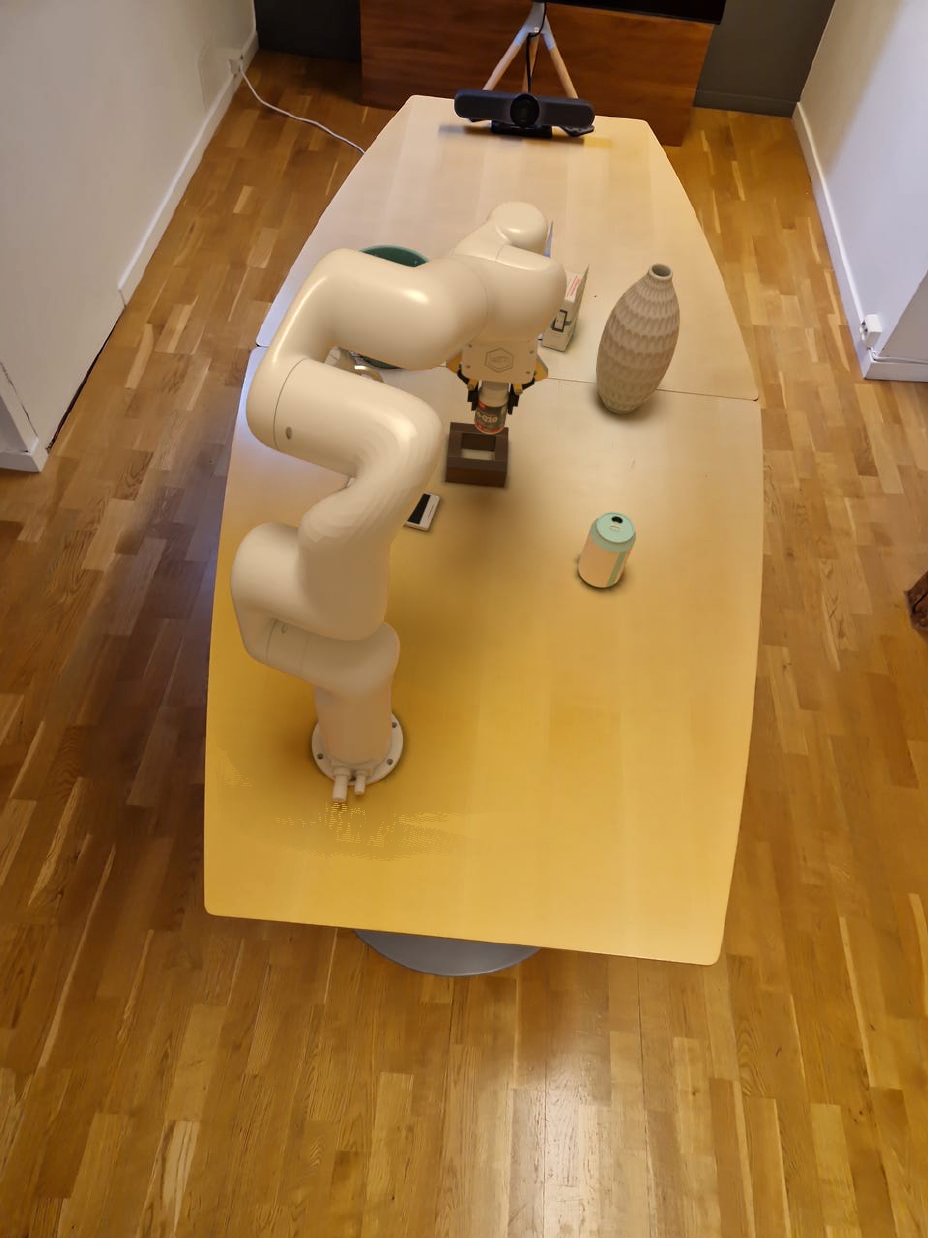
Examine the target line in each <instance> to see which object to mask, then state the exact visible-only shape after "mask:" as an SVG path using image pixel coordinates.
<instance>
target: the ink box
mask: <svg viewBox="0 0 928 1238" xmlns="http://www.w3.org/2000/svg"><path fill="white" fill-rule="evenodd" d="M589 267H590V262H588V263H587V265H586V268H585V270H584V272H583V274H581V273H578V272H574V271H571V270H568V269H565V272H566V276H567V290H566V295H565V299H564V302H563V305H562V307H561V309H560V311H559V313H558V315H557V316H556V318H555V320H554V321H553V322H552V324H551V325H550V326H549V327H548V328H547V329H546V330H545V331H544V332H543V333H542V334H543V335H542V340H541V346H542V347H546V348H549V349H553V350H557V351H560V352H565V351H566V349H567V348H568V344H569V343H570V340H571V339H572V336H573V334H574V332H575V330H576V326H577V323H578V322H577V321H578V318H579V313H580V309H581V305H582V300H583V296H584V292H585V288H586V283H587V279H588V274H589Z"/></svg>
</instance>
